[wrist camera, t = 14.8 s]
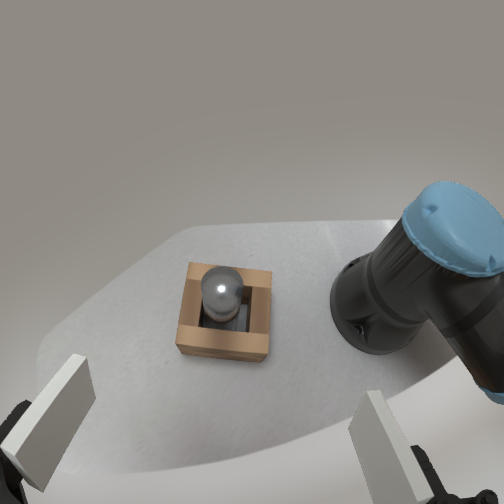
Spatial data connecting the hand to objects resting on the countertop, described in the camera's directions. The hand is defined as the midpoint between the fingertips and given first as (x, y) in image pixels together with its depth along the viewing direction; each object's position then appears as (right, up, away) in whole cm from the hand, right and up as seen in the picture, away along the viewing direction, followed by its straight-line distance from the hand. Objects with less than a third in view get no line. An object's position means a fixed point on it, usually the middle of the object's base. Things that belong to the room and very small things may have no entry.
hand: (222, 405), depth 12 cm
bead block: (-2, -2, +26) cm, 26 cm away
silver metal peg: (-3, -2, +26) cm, 26 cm away
